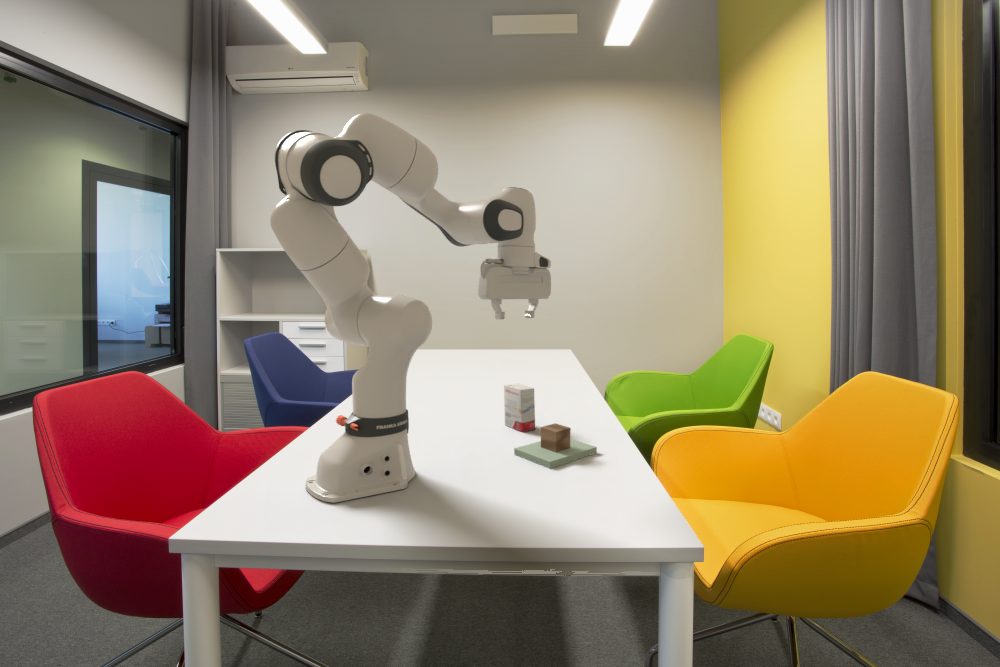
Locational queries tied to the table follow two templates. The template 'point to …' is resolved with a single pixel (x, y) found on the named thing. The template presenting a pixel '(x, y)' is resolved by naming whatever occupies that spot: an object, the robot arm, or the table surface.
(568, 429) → the walnut cube
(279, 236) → the robot arm
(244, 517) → the table surface
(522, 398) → the ink box
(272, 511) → the table surface
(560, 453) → the sage board
